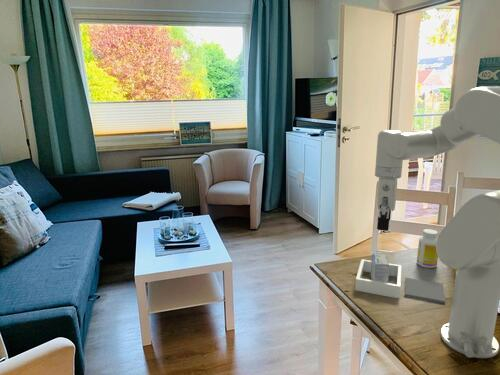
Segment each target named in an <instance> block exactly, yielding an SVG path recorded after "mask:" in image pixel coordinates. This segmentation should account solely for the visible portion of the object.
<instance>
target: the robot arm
mask: <svg viewBox="0 0 500 375" xmlns="http://www.w3.org/2000/svg"><path fill="white" fill-rule="evenodd" d="M439 124H440V125H438V126H437V127H434V128H432V129H429V130H424V131H422V130H421V131H410V132H404V131H402V130H398V129H397V130H396V129H383V130H381V131H379V132H378V134H377V140H376V141H377V143H376V158H375V171H374V176H375V177H376V178H378V184H377V209H378V210H379V212H378V216H377V226H376V229H377V230H378V231H385V232H388V231H389V227H390V221H391V217H392V216H391V214H392V212H393V211H395V210H396V204H397V203H396V201H397V192H398V191H397V190H398V180H399V179H401V178H402V172H403V162H404V161H409V160H417V159H426V158H432V157H434V156H439V155H442V154H444V153H446V152H449V151H452V150H454V149H456V148H458V147H460V146H461V145H462V144H463V143H465V142H468V141H470V140H473V139H477V138H479V137H483V138H486V139H488V140H490V141H493V143H496V144H499V145H500V86H497V85H496V86H478V87H474V88H471V89H469V90H468V91H465V92H464V93H462V95H461V96H460V97H459V98H458V99H457V101H456V104H455V106H454V108H450V109H448V110H447V111H446V112H444V113H443V114H442V116H441V118H440V123H439ZM436 238H437V242H436V252H437V255H438V260H439V261H441V263H442V264H443V265H445V266H446V267H448V268H450V269H454V270H455V269H457V272H456V277H455V278H454V284H453V292H452V299H451V306H450V314H449V319H448V323H445V324H443V325H442V326H441V329H440V337H441V339H442V340H443V342H444V343H445V344H446V345H447V346H448V347H450V348H451V349H453V350H454V351H456V352H458V353H460V354H463V355H464V356H466V357H467V358H469V359H471V358H472V359H473V358H476V359H490V358H493V357H495V356H496V355H498V354H499V350H500V343H499V342H498V340H497V339H496V337H495V336H494V334H495V329H496V324H497V319H498V318H497V317H498V312H499V306H500V189H498V190H493V191H488V192H483V193H480V194H478V195H475V196H473V197H472V198H470V199H469V200H468V201H466V202H465V203H464V204H463V205H462V207H460V209H459V210H458V211H457V212H456V213H455V215H454V216H453V217H452V218H451V219H450V220H449V222H448V223H447V224H446V225H445V226H444V228H442V230H441V231H440V232H439V234H438V235H437V237H436Z"/></svg>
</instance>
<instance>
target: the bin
mask: <svg viewBox="0 0 500 375" xmlns="http://www.w3.org/2000/svg"><path fill="white" fill-rule="evenodd" d="M371 263H372V260H368V259H361V260H360V263H359V267H358V270H357V273H356V277H355V288H354V291H355V292H356V291H357V292H363V293H367V294H373V295H378V296H383V297H390V298H395V299H400V296H401V282H402V265H401V264H395V263H391V262H388V263H389V275H388V277H396V284H395V283H389V282H388V283H385V282H379V281H374V280H371V279H367V278H363V275H364V272H366V273H371Z"/></svg>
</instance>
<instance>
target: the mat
mask: <svg viewBox="0 0 500 375" xmlns="http://www.w3.org/2000/svg"><path fill="white" fill-rule="evenodd" d="M404 280H405V281H404V297H407V298H413V299H417V300H423V301H429V302H434V303H440V304H446V297H445V292H444V286H443V285H444V284H443V283H440V282H435V281H429V280H423V279H419V278H417V279H416V278H411V277H410V278H409V277H405V279H404Z"/></svg>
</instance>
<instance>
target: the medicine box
mask: <svg viewBox="0 0 500 375" xmlns="http://www.w3.org/2000/svg"><path fill="white" fill-rule="evenodd" d="M371 261H372V263H371V272H370V278H371V279H370V280H374V281H379V282H385V283H389V263H390V262H389V261H388V259H387V255H386V254H384V253H383V254H382V253H373V254H372V255H371Z"/></svg>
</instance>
